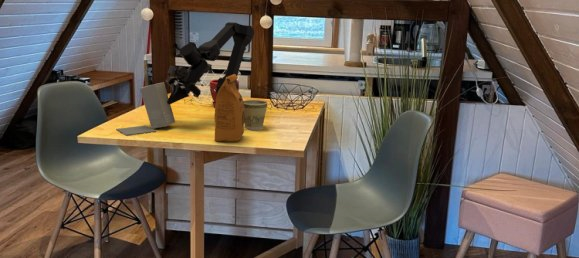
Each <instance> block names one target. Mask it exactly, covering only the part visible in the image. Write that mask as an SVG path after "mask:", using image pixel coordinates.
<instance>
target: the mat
mask: <svg viewBox="0 0 579 258" xmlns="http://www.w3.org/2000/svg"><path fill="white" fill-rule="evenodd" d="M115 131H116V132H118V133H120V134H123V135H124V136H127V137H128V136H135V135H136V134H137V135H143V134H144V133H145V134H151V132H153V133H157V130H156V129H155V128H154V129H152V128H151V127H149V126H147V125H138V126H137V125H136V126H130V127H121V128H116V129H115ZM145 134H144V135H145ZM137 135H136V136H137Z"/></svg>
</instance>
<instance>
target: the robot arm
mask: <svg viewBox="0 0 579 258" xmlns="http://www.w3.org/2000/svg"><path fill="white" fill-rule="evenodd" d="M254 35H255V30H254V27H253V26H252V25H248V24H240V23H237V22H232V21H228V22H226V23H225V25H224V27H222V28H221V29H220V30H219V31H218V33H216V35H215V36H213V38H212V39H210V40H209V41H205V42H203V43H202V44H201V45H199V46H198V47H197V45H196V43H195V42H193V41H188V43H187V44H185V45H183V46H182V47H181V48H180V49H179V54H180V56H181V57H182V58H183V60H184V61H185V63H186V64H188V66H189V67H188V68H186V67H184V66H183V65H182V66H181V65H180V66H179V67H178V66H175V65H170V66H169V68H168V70H167V74H168V75H172V76H168V77H167V78H166V79H165V82H166V83H167V85H169V86H170V87H171V92H170V95H169V96H168V98H169V99H168V101H167V103H168V104H170V105H173V104H174V103H176V102H179V101H181V100H183V99H186V98H189V97H190V95H189V94H190V93H192V94H193V97H194V98H197V99H198V98H199V97H200V96H201V94H202V93H201V89H200V88H199V87H198V86H197V85H196V84H197V83H201V82H202V80H201V78H202V77H203V75H205V73H207V71H208V72H209V73H212V72H213V68H212V67H213V65H212V64H210V63H208V62H214V61H216V60H217V59H218V58H219V57H220V55H221V49H222V48H223V47H224V46H225V44H227V43H228V42H229V41H230V40H231V38H232V40H233V47H232V49H231V53H230V57H229V60H228V64H227V67H226V71H225V74H224V75H223V77H219V78H218V83H217V86H216V87H217V88H216V93H218V91H219V89H220V88H221V86H222V85H223V83H224V82H225V79H226V77H228V76H231V75H233V74H235V75H236V76H237V77H238V74H239V72H240V68H241V64H242V61H243V57H244V53H245V50H246V48H247V46H248V45H250V43H251V42H252V40H253V38H254ZM237 80H238V78H237V79H236V80H235V81H234V82H235V85H236V88H237V90H238V83H237ZM240 95H241V93H240ZM241 96H242V95H241Z"/></svg>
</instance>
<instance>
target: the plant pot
mask: <svg viewBox="0 0 579 258" xmlns="http://www.w3.org/2000/svg"><path fill="white" fill-rule="evenodd" d="M218 79H219V78H218ZM218 79H213V80H210V81H209V91H210V97H211V98H212V105H213V106H214V107H215V104H216V97H217V93H216V88H217V87H216V86H217V83H218ZM237 83H238V91H239V92H240V81H239V79H237Z"/></svg>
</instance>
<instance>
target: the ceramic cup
mask: <svg viewBox="0 0 579 258" xmlns="http://www.w3.org/2000/svg"><path fill="white" fill-rule="evenodd" d="M243 103H244V129H246V130H250V131H259V130H262V129H263V127H264V122H265V117H266V113H267V109H268V101H266V100H260V99H244V100H243Z"/></svg>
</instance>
